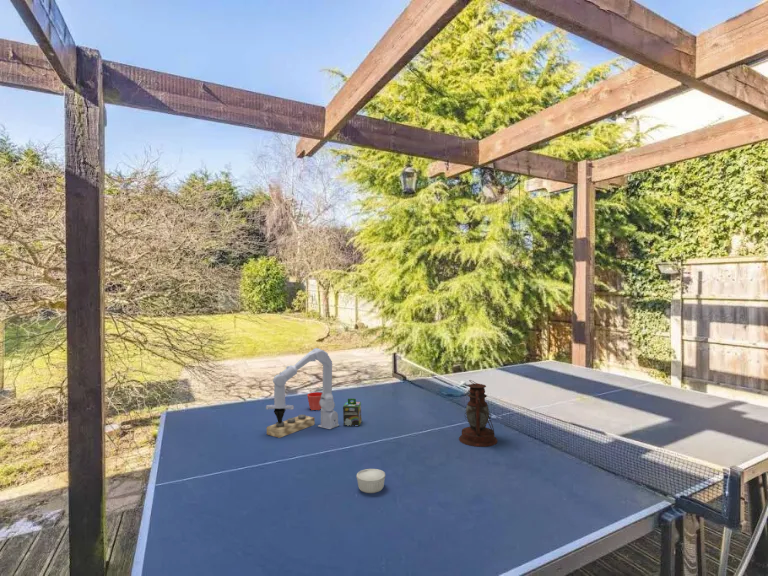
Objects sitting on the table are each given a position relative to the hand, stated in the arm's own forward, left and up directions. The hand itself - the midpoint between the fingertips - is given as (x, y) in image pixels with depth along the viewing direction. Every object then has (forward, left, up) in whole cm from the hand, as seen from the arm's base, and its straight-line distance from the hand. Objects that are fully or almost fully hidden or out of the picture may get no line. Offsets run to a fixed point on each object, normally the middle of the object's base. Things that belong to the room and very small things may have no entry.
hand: (280, 422), depth 230 cm
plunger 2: (0, -8, -6) cm, 10 cm away
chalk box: (-23, -34, -6) cm, 41 cm away
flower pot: (+17, -45, -6) cm, 48 cm away
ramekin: (-79, +24, -6) cm, 83 cm away
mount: (0, -8, -6) cm, 10 cm away
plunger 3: (0, -16, -6) cm, 17 cm away
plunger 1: (0, 0, -6) cm, 6 cm away
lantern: (-93, -47, -6) cm, 104 cm away
